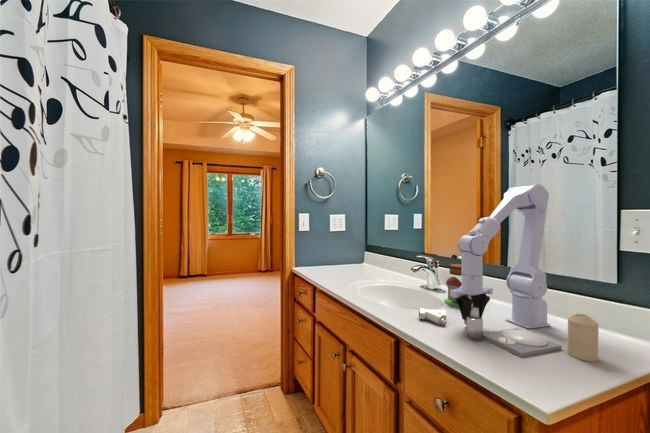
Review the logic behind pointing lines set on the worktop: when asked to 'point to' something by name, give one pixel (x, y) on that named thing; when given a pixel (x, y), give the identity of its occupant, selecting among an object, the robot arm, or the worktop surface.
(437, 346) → the worktop surface
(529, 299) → the robot arm
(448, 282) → the multicoloured stacked round part
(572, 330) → the candle
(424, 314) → the pipe fitting
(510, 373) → the worktop surface
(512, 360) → the worktop surface
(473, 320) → the cylinder
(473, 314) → the cylinder
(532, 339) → the scale
